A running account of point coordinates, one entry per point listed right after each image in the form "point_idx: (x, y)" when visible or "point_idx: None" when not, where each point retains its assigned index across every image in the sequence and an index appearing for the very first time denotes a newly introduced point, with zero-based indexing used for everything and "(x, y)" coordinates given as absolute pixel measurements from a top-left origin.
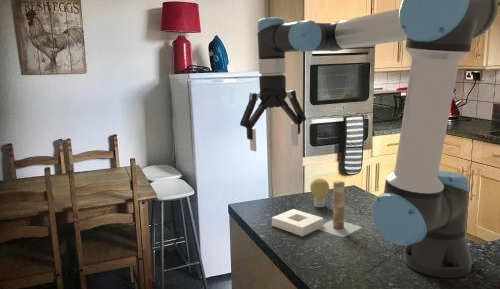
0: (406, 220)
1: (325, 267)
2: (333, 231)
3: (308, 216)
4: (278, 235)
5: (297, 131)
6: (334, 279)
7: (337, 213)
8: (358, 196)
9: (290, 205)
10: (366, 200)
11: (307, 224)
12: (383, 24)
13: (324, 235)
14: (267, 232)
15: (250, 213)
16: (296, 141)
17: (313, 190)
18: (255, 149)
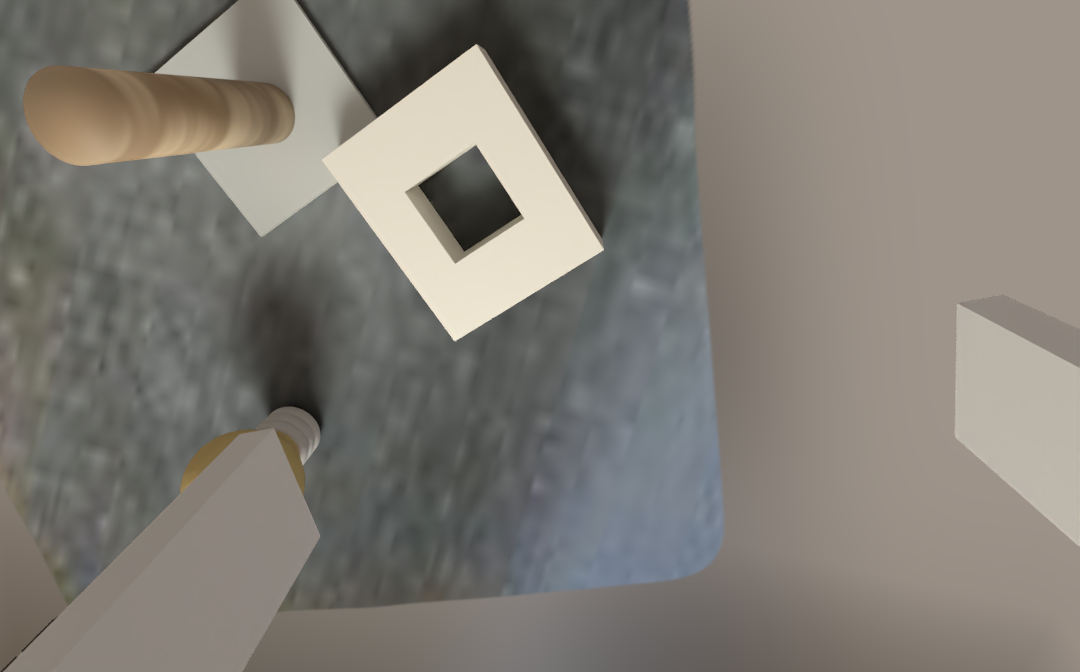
0: None
1: None
2: (305, 67)
3: (399, 206)
4: (601, 114)
5: (84, 595)
6: None
7: (230, 84)
8: (76, 500)
9: (436, 481)
10: (47, 441)
11: (435, 85)
12: None
13: (363, 46)
14: (646, 170)
15: (659, 437)
16: (228, 466)
17: (290, 461)
18: (992, 310)
